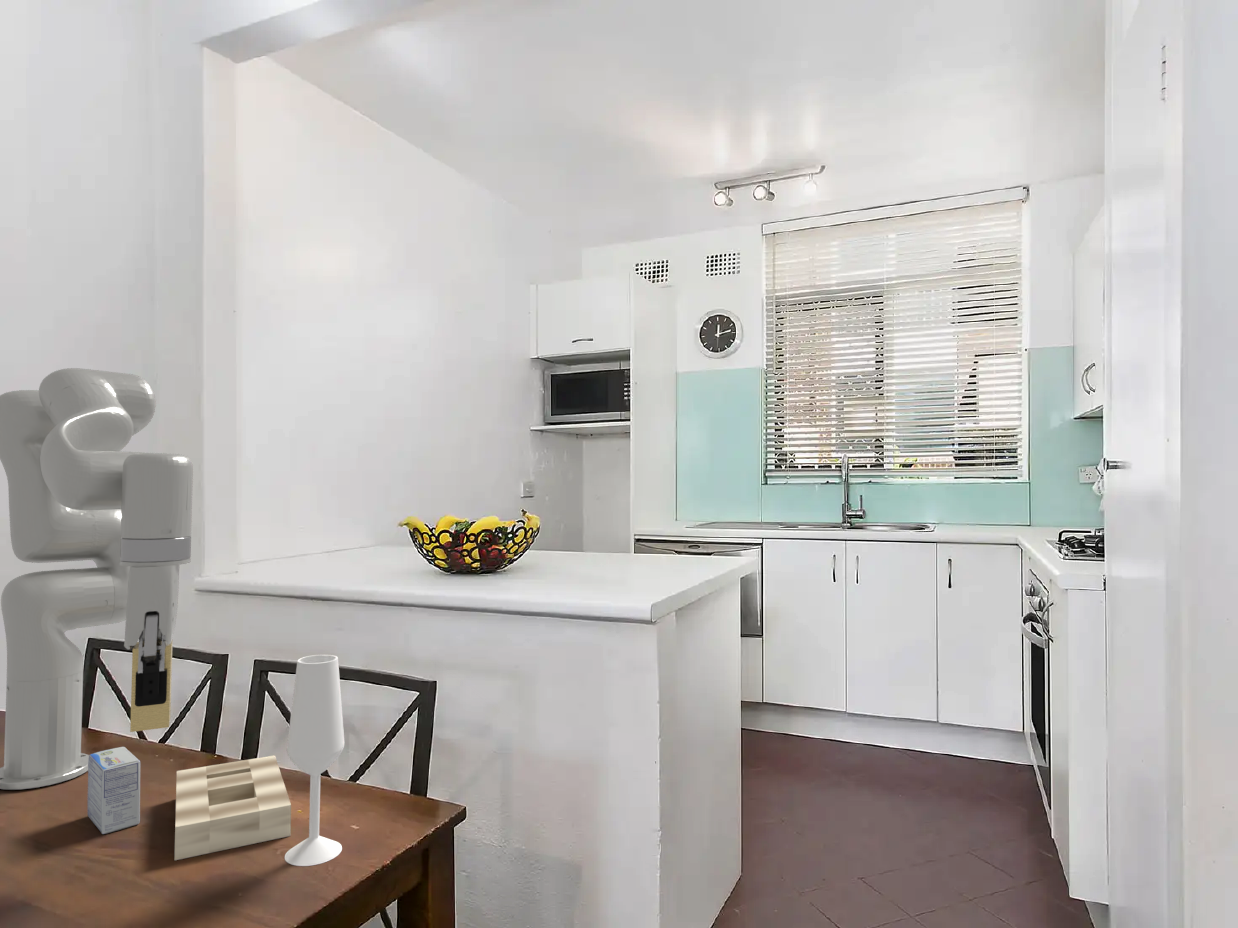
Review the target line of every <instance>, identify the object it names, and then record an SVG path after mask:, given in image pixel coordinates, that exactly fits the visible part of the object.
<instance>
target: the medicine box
mask: <svg viewBox="0 0 1238 928" xmlns="http://www.w3.org/2000/svg"><path fill="white" fill-rule="evenodd" d="M88 755H89V761H88V771H87V817H88V818H89V819H90V820H91V822H92V823H93V824H94V825H95V826H96V828H97V829H98V830H99V832H100V833H101V834H102V835H105V834H109V833H113V832H114V833H115V832H116V831H120V830H124V829H127V828H130V827H134V826H138V825H139V824H140V822H141V760H140V759H138V758H137V757H136V756H135V755H134V754H133V753H132V752H131V751H130V750H128V749H127V748H126V747H125V746H120V747H114V748H110V749H105V750H100V751H97V752H94V753H90V754H88Z"/></svg>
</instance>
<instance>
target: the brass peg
mask: <svg viewBox="0 0 1238 928" xmlns="http://www.w3.org/2000/svg"><path fill="white" fill-rule="evenodd" d="M173 641H174V640H173V638H172V642H171V643H170V644H169V645H168V646H166V649H165V670H167V693H166V702H165V703H164V704H157V705H148V706H139V707H138V706H136V705H135V686H136V673H137V672H138V653H139V651H138V648H139V641H137V643H136V645H135V646H132V655H131V656H132V657H131V658H132V660H131V689H130V690H131V692H130V693H131V695H130V698H131V699H130V727H129V728H130V730H129V731H130V733H133V732H142V731H149V730H151V731H152V730H157V729H163V728H164V729H167V728H170V724H171V717H172V716H171V715H172V714H171V713H172V712H171V711H172V709H171V708H172V677H173V676H172V675H173V674H172V672H173V643H174V642H173ZM157 645H162V640H160V641H157ZM143 647H144V642H143ZM157 652H159V653H160V650H157ZM159 662H160V660H159Z"/></svg>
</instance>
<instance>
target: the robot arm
mask: <svg viewBox="0 0 1238 928" xmlns="http://www.w3.org/2000/svg"><path fill="white" fill-rule="evenodd" d="M156 401H157V399H156V396H155V391H154V390H153V388H152V386H151V385H150V384H149V382H148V381H147V380H145V378H143V377H141V376H139V375H136V374H133V373H125V372H117V371H116V372H115V371H106V370H99V369H98V370H97V369H91V368H90V369H89V368H77V367H71V368H60V369H58V370H55V371H52V372H50V373H49V374H48V375H47V376H45V377H44V378H43V379H42V381H41V382H40V384H39V388H38V390H37V389H36V390H35V389H21V390H12V391H8V392H7V391H6V392H4V393H2V394H0V463H1V464H2V466H3V469H4V473H5V475H6V479H7V487H8V491H7V492H8V509H9V510H8V511H9V515H8V516H9V529H10V530H9V532H10V533H9V534H10V543H11V548H12V551H13V554H14V556H15V557H16V558H17V559H18V560H20V561H23V562H25V563H31V564H32V563H34V564H35V563H36V564H44V563H46V564H47V563H49V564H50V563H63V562H64V563H65V562H77V561H78V562H79V561H80V562H81V561H92V562H94V563H95V565H96V567H85V568H69V569H68V568H66V569H64V568H63V569H53V570H42V571H41V570H39V571H34V572H33V571H32V572H29V573H24V574H22V575H18V576H17V577H15V578H12V579H11V580H10V581H9V582H8V583H7V584H5V586H4V588H3V590H2V593H1V597H0V598H1V599H0V607H1V609H0V610H1V614H2V620H3V626H4V632H5V641H6V686H5V687H6V691H5V694H6V695H5V697H6V698H5V719H4V720H5V722H4V723H5V726H4V754H3V755H4V758H3V766H2V767H1V766H0V790H5V791H6V790H7V791H8V790H9V791H15V790H27V789H28V790H29V789H35V788H36V789H37V788H40V787H47V786H51V785H52V786H53V785H55V784H59V783H62V782H65V781H68V780H69V781H70V780H71V779H74V778H77V777H79V776H81V775H83V774H85V773H86V772H88V761H89V755H90V754H86V753H83V752H82V726H83V725H82V723H83V687H84V656H83V653H82V651H81V650H80V649H79V647H78V646H77V645H76V644H75V643H74V642H72V641H71V640H70V639H69V638H68V637H67V636H66V634H65V632H68V631H72V630H77V629H83V628H92V627H99V626H100V627H101V626H106V625H107V626H108V625H114V624H119V623H122V622H125V627H124V628H125V629H124V630H125V631H124V642H123V643H124V644H123V647H124V648H125V649H126V650H131V649H132V648H133V647H134V646H135V645H136V643H137V642H139V648H138V651H139V653H138V672H137V673H136V686H135V705H136V706H138V707H139V706H148V705H157V704H164V703H165V702H166V693H167V670H165V649H166V646H168V645H169V644H170V643H171V642H172V639H173V638H174V633H175V628H176V622H177V615H178V607H179V605H178V604H179V589H180V587H179V586H180V585H179V584H180V565H186V564H190V563H191V559H192V558H191V557H192V556H191V555H192V551H191V550H192V522H193V521H192V519H193V518H192V517H193V516H192V515H193V485H194V484H193V482H194V481H193V480H194V479H193V478H194V467H193V466H194V465H193V461H192V460H191V458H190V457H188V455H187V456H186V455H185V454H179V453H166V452H163V453H162V452H161V453H160V452H139V451H138V452H136V451H135V452H133V451H122V450H123V449H124V448H125V447H126V446H127V445H128V444H129V443H130V441H131V440H132V437H133V436H134V435H136V434H138V433H139V432H141V431H142V430H143V429H144V428H146V427H147V426H148V425H149V424H150V422H151V421H152V420H153V418H154V415H155V412H156V406H157V405H156V404H157V403H156ZM160 640H162V645H157V641H160ZM143 642H144V647H143ZM157 650H160V653H159V652H157ZM159 660H160V662H159Z"/></svg>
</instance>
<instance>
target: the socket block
mask: <svg viewBox="0 0 1238 928" xmlns="http://www.w3.org/2000/svg"><path fill="white" fill-rule="evenodd" d="M175 781H176V782H175V783H176V785H175V787H176V788H175V789H176V790H175V793H176V794H175V822H174V823H175V824H174V825H175V828H174V829H175V830H174V831H175V832H174V861H177V860H179V861H180V860H183V859H188V858H193V857H198V856H201V855H202V856H203V855H206V854H212V853H216V852H221V851H225V850H229V849H235V848H239V847H244V846H249V845H253V844H257V843H259V844H260V843H262V842H263V843H264V842H267V841H272V840H278V839H281V838H288V837H291V835H292V833H291V830H292V829H291V827H292V826H291V825H292V823H291V822H292V804H291V800H290V797H289V794H288V791H287V788H286V784H285V783H284V782H285V781H284V779H283V776H282V773H281V770H280V767H279V763H278V761H277V757H276V755H269V756H263V757H262V756H261V757H256V758H250V759H244V760H238V761H232V762H231V761H230V762H225V763H220V764H219V763H218V764H212V765H207V766H206V765H205V766H200V767H194V768H188V769H181V770H180V769H179V770H176V780H175Z"/></svg>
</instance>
